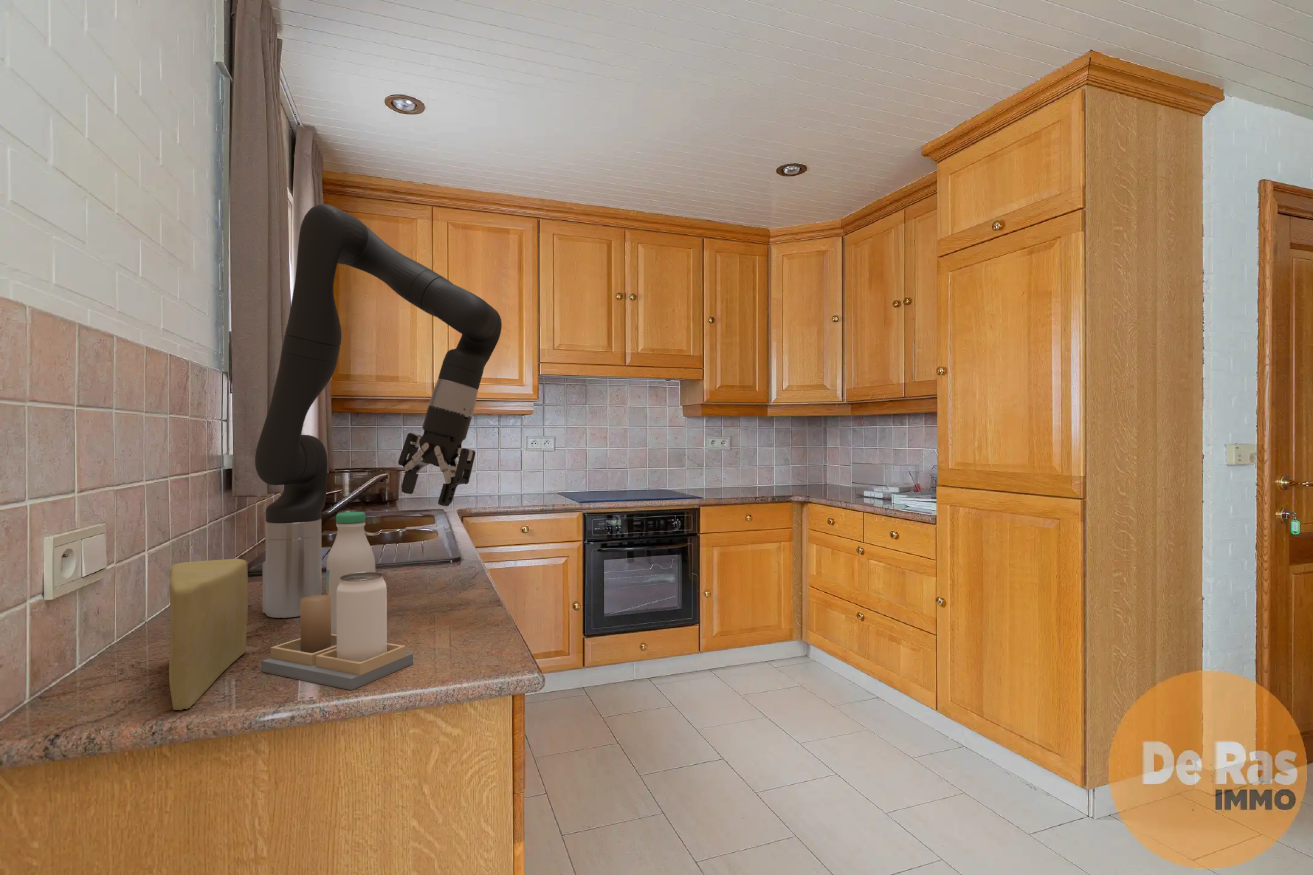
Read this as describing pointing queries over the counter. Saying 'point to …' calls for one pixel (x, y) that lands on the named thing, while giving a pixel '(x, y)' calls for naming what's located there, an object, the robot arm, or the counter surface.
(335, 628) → the milk bottle
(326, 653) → the socket board
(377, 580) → the can
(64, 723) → the counter surface
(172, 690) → the cheese
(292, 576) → the robot arm
